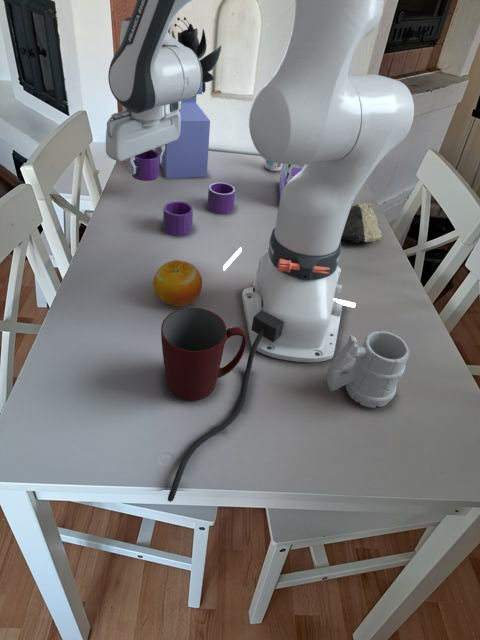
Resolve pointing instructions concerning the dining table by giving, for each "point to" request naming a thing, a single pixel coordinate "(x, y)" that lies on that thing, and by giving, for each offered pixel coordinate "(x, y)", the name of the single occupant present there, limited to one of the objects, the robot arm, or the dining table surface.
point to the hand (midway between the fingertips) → (145, 168)
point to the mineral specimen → (362, 224)
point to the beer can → (273, 166)
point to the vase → (191, 118)
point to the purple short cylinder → (221, 198)
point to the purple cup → (147, 166)
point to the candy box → (288, 174)
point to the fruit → (177, 283)
